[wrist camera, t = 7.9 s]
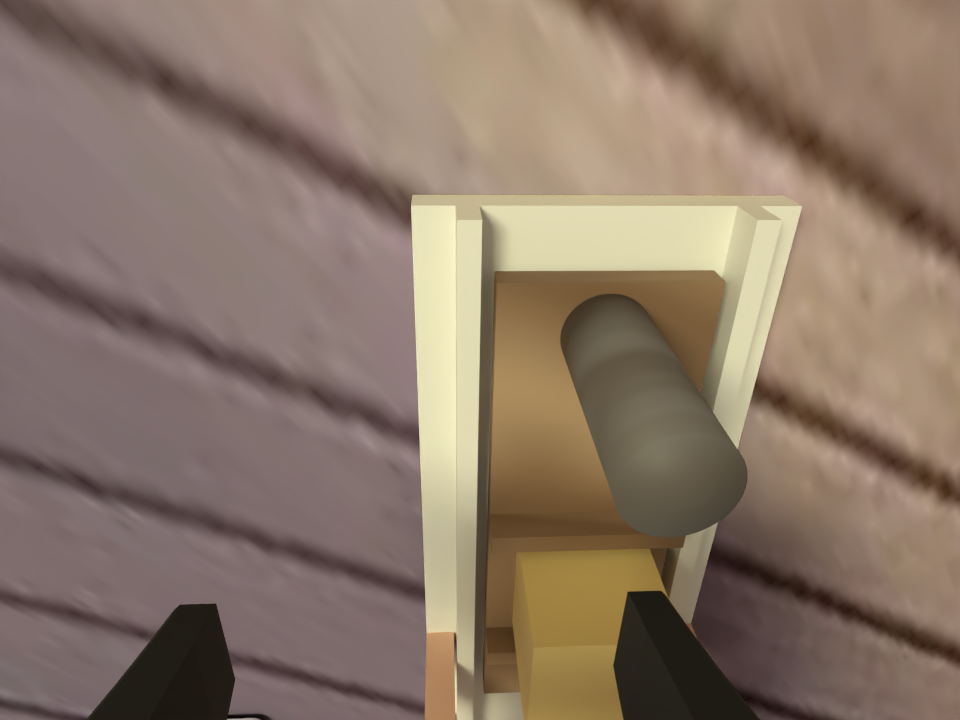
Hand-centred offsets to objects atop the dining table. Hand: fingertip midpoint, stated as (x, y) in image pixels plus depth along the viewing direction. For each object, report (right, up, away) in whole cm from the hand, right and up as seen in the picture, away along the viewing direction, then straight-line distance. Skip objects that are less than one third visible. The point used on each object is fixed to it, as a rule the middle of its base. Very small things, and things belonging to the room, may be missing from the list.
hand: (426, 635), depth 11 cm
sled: (+4, 0, +9) cm, 10 cm away
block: (+4, -2, +10) cm, 11 cm away
